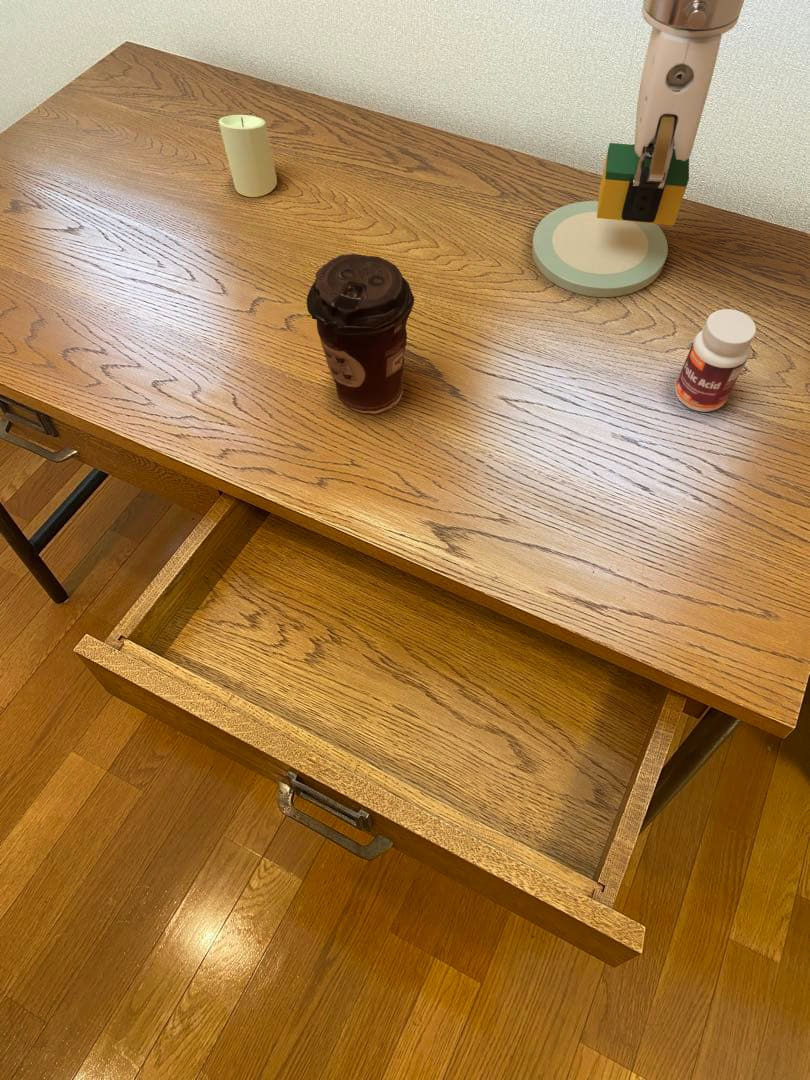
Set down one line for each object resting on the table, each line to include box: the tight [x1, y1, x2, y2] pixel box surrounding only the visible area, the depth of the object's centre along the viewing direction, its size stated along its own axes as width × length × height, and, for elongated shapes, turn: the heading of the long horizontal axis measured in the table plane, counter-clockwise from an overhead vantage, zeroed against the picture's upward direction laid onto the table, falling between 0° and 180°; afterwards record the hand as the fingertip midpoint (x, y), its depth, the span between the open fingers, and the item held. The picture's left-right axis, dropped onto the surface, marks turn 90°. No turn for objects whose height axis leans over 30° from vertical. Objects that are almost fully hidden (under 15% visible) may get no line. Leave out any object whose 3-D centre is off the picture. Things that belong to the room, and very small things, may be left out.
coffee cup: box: [306, 253, 415, 415], centre depth 65 cm, size 9×8×13 cm
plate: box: [531, 200, 669, 298], centre depth 79 cm, size 14×14×1 cm
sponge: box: [597, 142, 690, 226], centre depth 72 cm, size 8×5×5 cm, turn 79°
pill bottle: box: [674, 308, 757, 413], centre depth 65 cm, size 5×5×8 cm
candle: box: [217, 114, 278, 198], centre depth 84 cm, size 5×5×8 cm
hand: (638, 200), depth 74 cm, fingers closed on sponge, 4 cm apart
